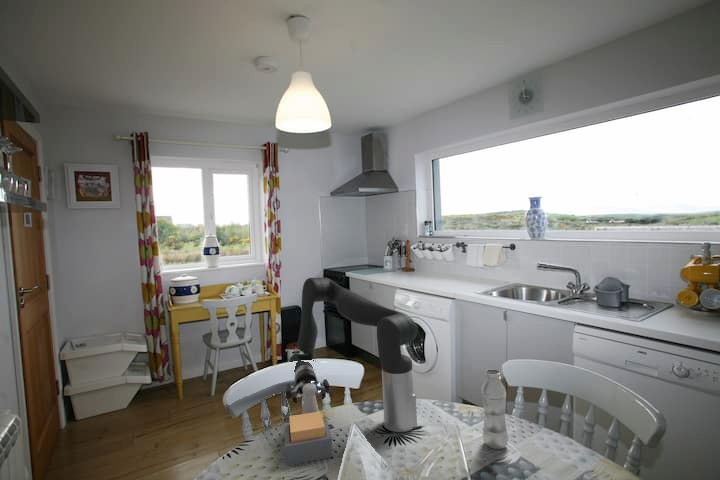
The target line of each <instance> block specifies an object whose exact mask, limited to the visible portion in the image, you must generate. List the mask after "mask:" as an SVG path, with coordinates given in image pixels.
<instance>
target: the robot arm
mask: <svg viewBox="0 0 720 480" xmlns="http://www.w3.org/2000/svg"><path fill="white" fill-rule="evenodd" d="M301 291H302V292H301V313H300V315H301V317H300V320H301V321H300V327H299V328H300V329H299V334H298V339H297V342H296V343H297V346H296V347H297V350H299V351H300V352H302V353H304V354H302V353H294V354H292V355H291V356H290V357H289V359H288V363H289V362H293V361H298V362H297V363H296V366H295V370H294V372H295V375H294V385H290V383H289V384H286V385H285V399H286V400H290V399H291V401H292V403H294V404H298V403H297V401H298V398H300V397H302V396H304V394H303V391H302V388H303V386H304V385H305V384H308V383H313V384H315V385H316V388H317V391H316V393H315V395H316V396H317V395H320V397H321V400H325V398H326V395H327V394H330V393H331V391H330V383H329V382H328V380H327V379H323V381H322V382H319V380H318V379H317V375H316V372H315V369H314V370H313V367H312V365H311V364H310V363H309V362H304V361H301V360H312V359H315V360H316V354H315V349H316V343H317V338H318V326H317V322H316V320H315V318H314V312H313V310H314V304H315V303H317V302H329V303H331V304H334V305H335V306H336V310H337V311H338V313H339V315H341V316H342V317H343V318H344V319H347V320H349V321H350V322H352V323H355V324H358V325H363V326H369V327H375V328H376V340H377V341H376V343H377V352H378V353H377V354H378V359H379V361H380V364H381V378H382V379H381V381H382V383H381V384H382V400H383V401H382V402H383V423H384V425H383V426H384V427H385V428H386V429H387V430H388V431H391V432H394V433H405V432H409V431H411V430H413V429H414V428H417V427H418V418H417V417H418V414H417V395H416V394H415V392H414V377H413V361H412V358H411V357H410V356H408V355H405V354H402V349H401V348H402V347H401V346H404V345H407V344H409V343H411V342H412V341H414V340H416V337H417V336H418V326H417V324H416V322H415V320H414V319H413V318H412V317H411V315H408V314H407V313H404V312H401V311H398V310H395V309H391V308H388V307H386V306H383V305H381V304H380V303H377V302H375V301H373V300H371V299H369V298H366V297H365V296H363V295H361V294H358V293H356V292H354V291H352V290H350V289H348V288H345V287H343V286H341V285H339V284H338V283H336V282H335V281H334V280H332V279H330V278H328V277H323V276H322V277H309V278H307V279H306V280H304V283H303V286H302V290H301ZM313 361H314V360H313Z"/></svg>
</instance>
